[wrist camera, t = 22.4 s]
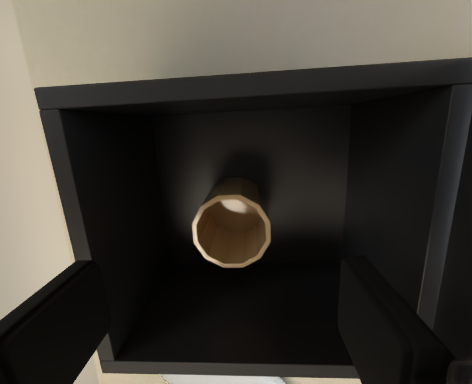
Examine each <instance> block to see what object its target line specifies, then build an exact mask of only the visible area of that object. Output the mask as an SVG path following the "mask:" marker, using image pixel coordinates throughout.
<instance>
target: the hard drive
mask: <svg viewBox="0 0 472 384" xmlns="http://www.w3.org/2000/svg"><path fill="white" fill-rule="evenodd" d="M160 375H161V376H162V377H163V378H164V379H165V380H166V381H168V382H169V383H170V384H286V383H285V382H284V381H283V380H282V379H281V378H280V377H265V376H219V375H174V374H160Z"/></svg>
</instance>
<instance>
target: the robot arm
mask: <svg viewBox="0 0 472 384" xmlns="http://www.w3.org/2000/svg"><path fill="white" fill-rule="evenodd" d="M110 327H111V317H110V312H109V307H108V303H107V298H106V293H105V289H104V284H103V280H102V275H101V270H100V266H99V265H98V264H96V262H95V261H93V260H78V261H76V262H74V263H73V264H72V265H70V266H69V267H68V268H66V269H65V270H64V271H63V272H61V273H60V274H59V275H58V276H56V277H55V278H54V279H52V280H51V281H50V282H49V283H47V284H46V285H45V286H43V287H42V288H41V289H40V290H38V291H37V292H36V293H35V294H33V295H32V296H31V297H29V298H28V299H27V300H26V301H24V302H23V303H22V304H20V305H19V306H18V307H17V308H16V309H14V310H13V311H12V312H10V313H9V314H8V315H6V316H5V317H4V318H3V319H1V320H0V384H73V383H74V381H75V380H76V378H77V377H78V375H79V374H80V372H81V371H82V370H83V368H84V367H85V365H86V364H87V362H88V361H89V359H90V358H91V356H92V355H93V353H94V352H95V351H96V349H97V348H98V346H99V345H100V343H101V342H102V340H103V339H104V337H105V336H106V335H107V333H108V332H109V330H110ZM338 328H339V331H340V334H341V336H342V338H343V341H344V343H345V345H346V348H347V350H348V352H349V355H350V357H351V359H352V362H353V364H354V366H355V369H356V371H357V373H358V376H359V378H360V380H361V383H362V384H472V359H469V358H461V359H456V358H455V356H454V355H453V354H452V353H451V352H450V351H449V350H448V348H447V347H446V346H445V345H444V344H443V343H442V342H441V340H440V339H439V338H438V337H437V336H436V335H435V334H434V333H433V331H432V330H431V329H430V328H429V327H428V326H427V325H426V323H425V322H424V321H423V320H422V319H421V318H420V317H419V315H418V314H417V313H416V312H415V311H414V310H413V309H412V307H411V306H410V305H409V304H408V303H407V302H406V301H405V299H404V298H403V297H402V296H401V295H400V294H398V293H397V292H396V291H395V290H394V289H393V287H392V286H391V285H390V284H389V283H388V282H387V280H386V279H385V278H384V277H383V276H382V275H381V274H380V272H379V271H378V270H377V269H376V268H375V267H374V266H373V264H372V263H371V262H370V261H369V260H368V259H367V257H366V256H364V255H348V256H347V257H346V259H343V260H342V261H341V271H340V287H339V304H338Z"/></svg>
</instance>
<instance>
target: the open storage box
mask: <svg viewBox="0 0 472 384" xmlns="http://www.w3.org/2000/svg"><path fill="white" fill-rule="evenodd" d="M34 91H35V95H36V99H37V103H38V107H39V109H40V111H39V112H40V116H41V120H42V125H43V129H44V133H45V137H46V141H47V145H48V149H49V153H50V158H51V162H52V166H53V170H54V174H55V178H56V182H57V187H58V191H59V195H60V199H61V203H62V207H63V211H64V215H65V220H66V224H67V228H68V232H69V236H70V240H71V244H72V248H73V253H74V257H75V261H78V260H93V261H95V262H96V264H98V265H99V266H100V270H101V275H102V280H103V284H104V289H105V293H106V298H107V303H108V307H109V312H110V317H111V327H110V330H109V332H108V333H107V335H106V336H105V337H104V339H103V340H102V342H101V343H100V345H99V346H98V348H97V352H98V356H99V360H100V364H101V368H102V372H103V373H128V374H174V375H219V376H265V377H311V378H357V379H360V378H359V376H358V373H357V371H356V369H355V366H354V364H353V362H352V359H351V357H350V355H349V352H348V350H347V348H346V345H345V343H344V341H343V338H342V336H341V334H340V331H339V328H338V304H339V287H340V271H341V261H342V260H343V259H346V257H347V256H348V255H364V256H366V257H367V259H368V260H369V261H370V262H371V263H372V264H373V266H374V267H375V268H376V269H377V270H378V271H379V272H380V274H381V275H382V276H383V277H384V278H385V279H386V280H387V282H388V283H389V284H390V285H391V286H392V287H393V289H394V290H395V291H396V292H397V293H398V294H400V295H401V296H402V297H403V298H404V299H405V301H406V302H407V303H408V304H409V305H410V306H411V307H412V309H413V310H414V311H415V312H416V313H417V314H418V315H419V317H420V318H421V319H422V320H423V321H424V322H425V323H426V325H427V326H428V327H429V328H430V329H431V330H433V324H434V319H435V313H436V307H437V302H438V296H439V291H440V285H441V280H442V274H443V269H444V263H445V258H446V252H447V247H448V241H449V236H450V230H451V225H452V219H453V214H454V208H455V202H456V197H457V191H458V186H459V180H460V175H461V169H462V164H463V158H464V153H465V147H466V142H467V136H468V131H469V125H470V120H471V114H472V57H471V58H456V59H442V60H427V61H413V62H399V63H384V64H370V65H355V66H341V67H327V68H312V69H298V70H283V71H269V72H255V73H240V74H226V75H211V76H197V77H183V78H168V79H154V80H139V81H125V82H110V83H96V84H82V85H67V86H53V87H38V88H34ZM231 177H241V178H245V179H248V180H250V181H252V182H254V183H255V184H256V185H258V186H259V188H260V189H261V190H262V192H263V194H264V196H265V197H266V200H267V205H268V211H269V216H270V222H271V242H270V244H269V246H268V247H267V249H266V251H265V252H264V254H263V256H262V257H261V258H260V259H258V260H257V261H255V262H253V263H251V264H249V265H247V266H245V267H243V268H223V267H221V266H219V265H216V264H214V263H212V262H210V261H208V260H206V259H205V258H204V257H203V255H202V254H201V253H200V251H199V250H198V249H197V247H196V246H195V244H194V243H193V233H192V222H193V220H194V218H195V216H196V214H197V212H198V210H199V208H200V206H201V204H202V203H203V201H204V200H205V198H206V197H207V195H208V193H209V192H210V190H211V189H212V187H213V186H215V185H216V184H217V183H219V182H220V181H222V180H224V179H226V178H231Z"/></svg>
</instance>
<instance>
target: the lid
mask: <svg viewBox="0 0 472 384" xmlns="http://www.w3.org/2000/svg"><path fill="white" fill-rule="evenodd" d="M432 331H433V333H434V334H435V335H436V336H437V337H438V338H439V339H440V340H441V342H442V343H443V344H444V345H445V346H446V347H447V348H448V350H449V351H450V352H451V353H452V354H453V355H454V356H455V358H456V359H461V358H469V359H472V114H471V120H470V125H469V131H468V136H467V142H466V147H465V153H464V158H463V164H462V169H461V175H460V180H459V186H458V191H457V197H456V202H455V208H454V214H453V219H452V225H451V230H450V236H449V241H448V247H447V252H446V258H445V263H444V269H443V274H442V280H441V285H440V291H439V296H438V302H437V307H436V313H435V319H434V324H433V330H432Z"/></svg>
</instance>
